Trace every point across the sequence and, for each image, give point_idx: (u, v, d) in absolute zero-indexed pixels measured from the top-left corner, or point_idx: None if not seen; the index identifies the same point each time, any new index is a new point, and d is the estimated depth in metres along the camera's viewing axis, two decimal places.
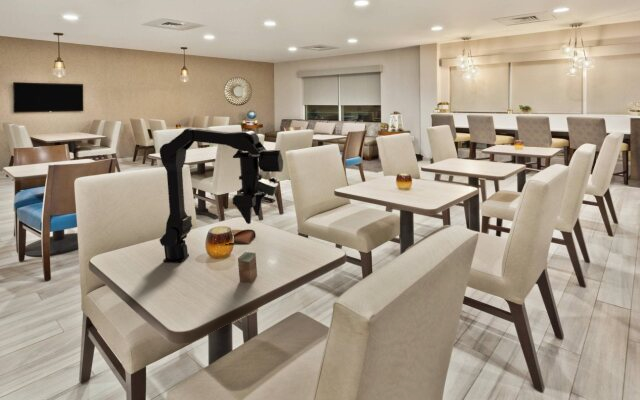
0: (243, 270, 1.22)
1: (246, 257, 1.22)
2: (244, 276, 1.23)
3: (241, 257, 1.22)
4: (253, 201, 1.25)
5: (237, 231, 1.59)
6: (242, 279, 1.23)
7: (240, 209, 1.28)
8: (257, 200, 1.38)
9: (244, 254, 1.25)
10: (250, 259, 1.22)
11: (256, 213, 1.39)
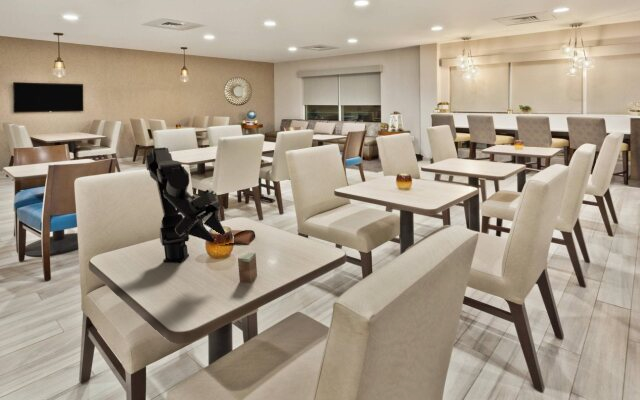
0: (243, 270, 1.22)
1: (246, 257, 1.22)
2: (244, 276, 1.23)
3: (241, 257, 1.22)
4: (192, 219, 1.16)
5: (236, 231, 1.59)
6: (242, 279, 1.23)
7: (195, 234, 1.20)
8: (213, 221, 1.28)
9: (244, 254, 1.25)
10: (250, 259, 1.22)
11: (221, 233, 1.28)
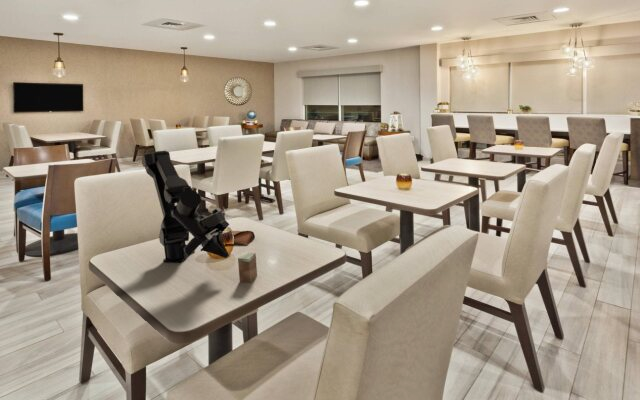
0: (243, 270, 1.22)
1: (246, 257, 1.22)
2: (244, 276, 1.23)
3: (241, 257, 1.22)
4: (201, 240, 1.17)
5: (236, 232, 1.58)
6: (242, 279, 1.23)
7: (209, 250, 1.24)
8: None
9: (244, 254, 1.25)
10: (250, 259, 1.22)
11: None
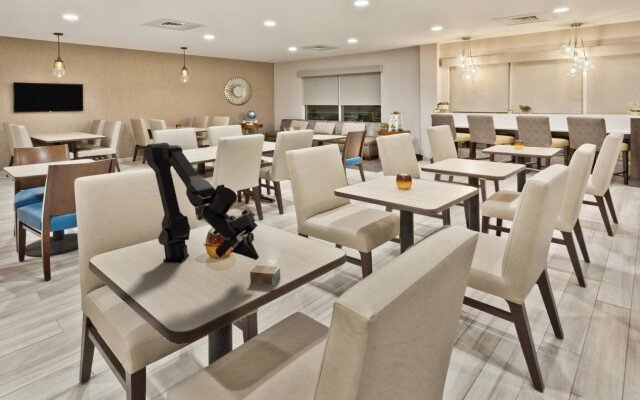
0: (262, 277, 1.21)
1: (275, 279, 1.22)
2: (256, 277, 1.22)
3: (275, 275, 1.21)
4: (233, 241, 1.15)
5: None
6: (253, 274, 1.22)
7: (239, 252, 1.22)
8: None
9: (278, 271, 1.23)
10: None
11: None
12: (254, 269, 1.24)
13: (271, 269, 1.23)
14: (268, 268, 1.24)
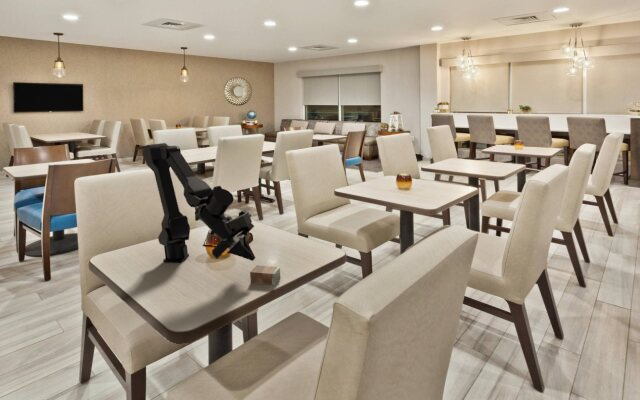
0: (262, 277, 1.21)
1: (275, 279, 1.22)
2: (256, 277, 1.22)
3: (275, 275, 1.21)
4: (229, 242, 1.15)
5: None
6: (253, 274, 1.22)
7: (235, 253, 1.22)
8: None
9: (278, 271, 1.23)
10: None
11: None
12: (254, 269, 1.24)
13: (271, 269, 1.23)
14: (268, 268, 1.24)
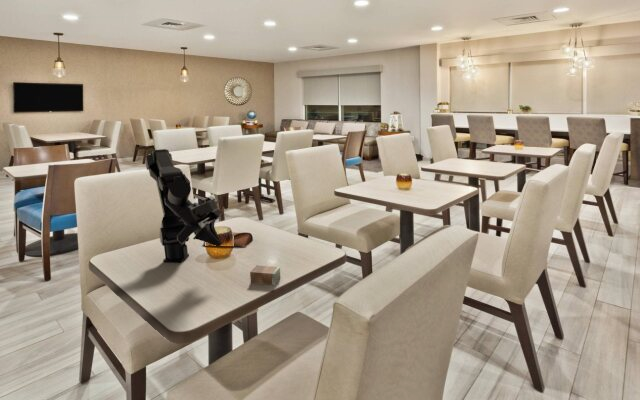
0: (262, 277, 1.21)
1: (275, 279, 1.22)
2: (256, 277, 1.22)
3: (275, 275, 1.21)
4: (194, 227, 1.17)
5: (233, 234, 1.56)
6: (253, 274, 1.22)
7: (202, 238, 1.24)
8: None
9: (278, 271, 1.23)
10: None
11: None
12: (254, 269, 1.24)
13: (271, 269, 1.23)
14: (268, 268, 1.24)
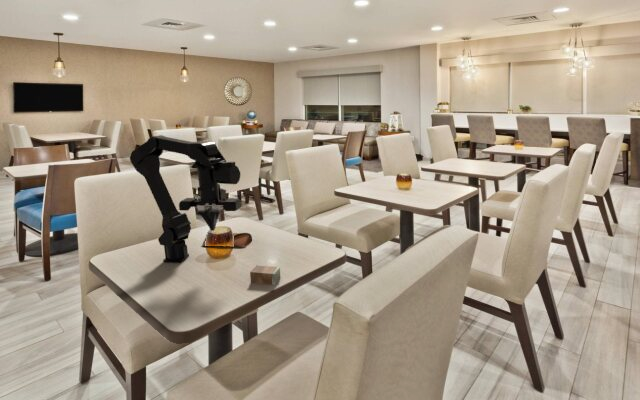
0: (262, 277, 1.21)
1: (275, 279, 1.22)
2: (256, 277, 1.22)
3: (275, 275, 1.21)
4: None
5: (233, 234, 1.55)
6: (253, 274, 1.22)
7: (214, 216, 1.30)
8: (210, 214, 1.32)
9: (278, 271, 1.23)
10: None
11: None
12: (254, 269, 1.24)
13: (271, 269, 1.23)
14: (268, 268, 1.24)
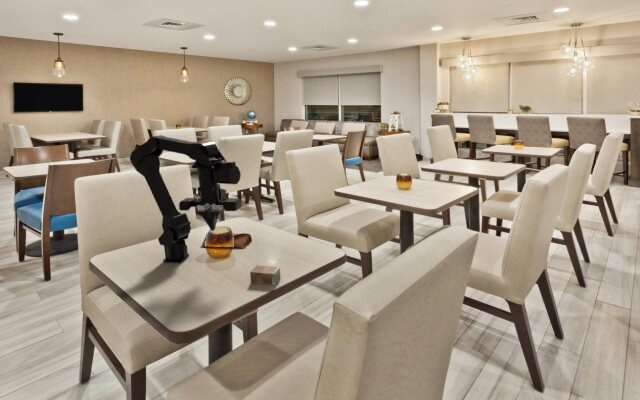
0: (262, 277, 1.21)
1: (275, 279, 1.22)
2: (256, 277, 1.22)
3: (275, 275, 1.21)
4: None
5: None
6: (253, 274, 1.22)
7: (215, 216, 1.30)
8: (210, 214, 1.32)
9: (278, 271, 1.23)
10: None
11: None
12: (254, 269, 1.24)
13: (271, 269, 1.23)
14: (268, 268, 1.24)
